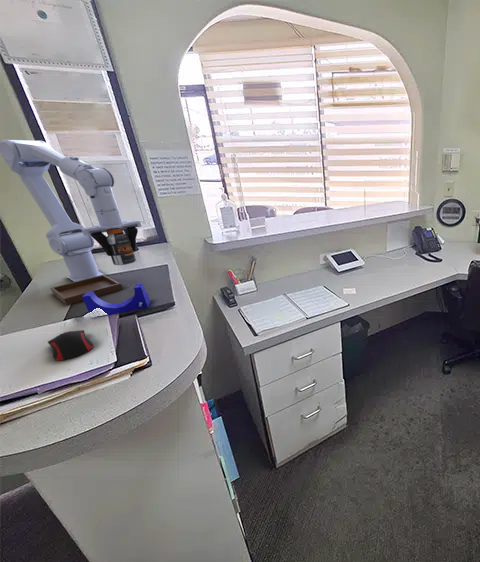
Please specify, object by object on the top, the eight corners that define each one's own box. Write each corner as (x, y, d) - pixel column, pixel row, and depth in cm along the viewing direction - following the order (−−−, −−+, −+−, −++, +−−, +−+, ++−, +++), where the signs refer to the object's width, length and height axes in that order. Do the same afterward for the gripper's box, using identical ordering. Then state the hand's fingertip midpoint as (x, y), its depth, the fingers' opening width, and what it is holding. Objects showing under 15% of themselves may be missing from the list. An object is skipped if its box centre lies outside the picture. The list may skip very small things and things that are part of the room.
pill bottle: (124, 266, 98) (111, 230, 93) (109, 265, 99) (96, 230, 94) (141, 260, 103) (130, 226, 99) (126, 259, 104) (114, 226, 100)
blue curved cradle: (150, 301, 87) (143, 281, 84) (147, 307, 83) (140, 286, 81) (96, 311, 82) (87, 290, 79) (91, 318, 78) (82, 296, 76)
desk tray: (53, 294, 94) (50, 287, 94) (106, 280, 104) (104, 274, 104) (66, 305, 86) (63, 298, 85) (122, 289, 96) (120, 283, 95)
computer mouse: (86, 333, 71) (79, 318, 69) (96, 349, 64) (89, 333, 63) (48, 345, 66) (40, 329, 65) (55, 364, 60) (46, 347, 58)
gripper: (80, 214, 87) (97, 260, 92) (139, 207, 98) (152, 249, 103) (73, 213, 91) (90, 257, 96) (130, 206, 102) (143, 246, 107)
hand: (121, 252), depth 100 cm, fingers closed on pill bottle, 6 cm apart
